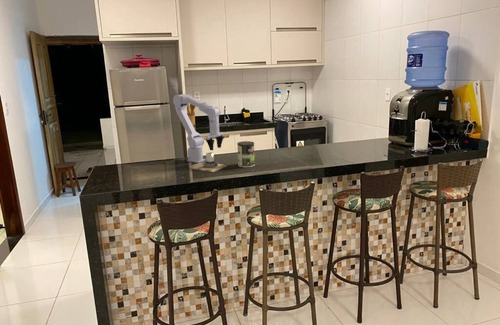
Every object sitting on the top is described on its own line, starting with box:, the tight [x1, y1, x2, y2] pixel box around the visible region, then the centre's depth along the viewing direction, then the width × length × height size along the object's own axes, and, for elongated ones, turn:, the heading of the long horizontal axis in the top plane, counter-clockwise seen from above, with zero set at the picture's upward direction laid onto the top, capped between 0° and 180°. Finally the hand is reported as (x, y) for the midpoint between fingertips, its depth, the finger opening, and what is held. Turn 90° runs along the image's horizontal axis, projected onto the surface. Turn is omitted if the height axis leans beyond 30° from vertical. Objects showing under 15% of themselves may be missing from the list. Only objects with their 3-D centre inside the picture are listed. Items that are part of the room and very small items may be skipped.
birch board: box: [188, 161, 228, 173], centre depth 222 cm, size 18×14×1 cm
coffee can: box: [236, 140, 256, 168], centre depth 223 cm, size 10×10×14 cm
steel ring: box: [202, 160, 219, 168], centre depth 221 cm, size 8×8×2 cm
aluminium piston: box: [205, 152, 215, 164], centre depth 220 cm, size 4×4×8 cm
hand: (215, 148), depth 229 cm, fingers open, 7 cm apart
